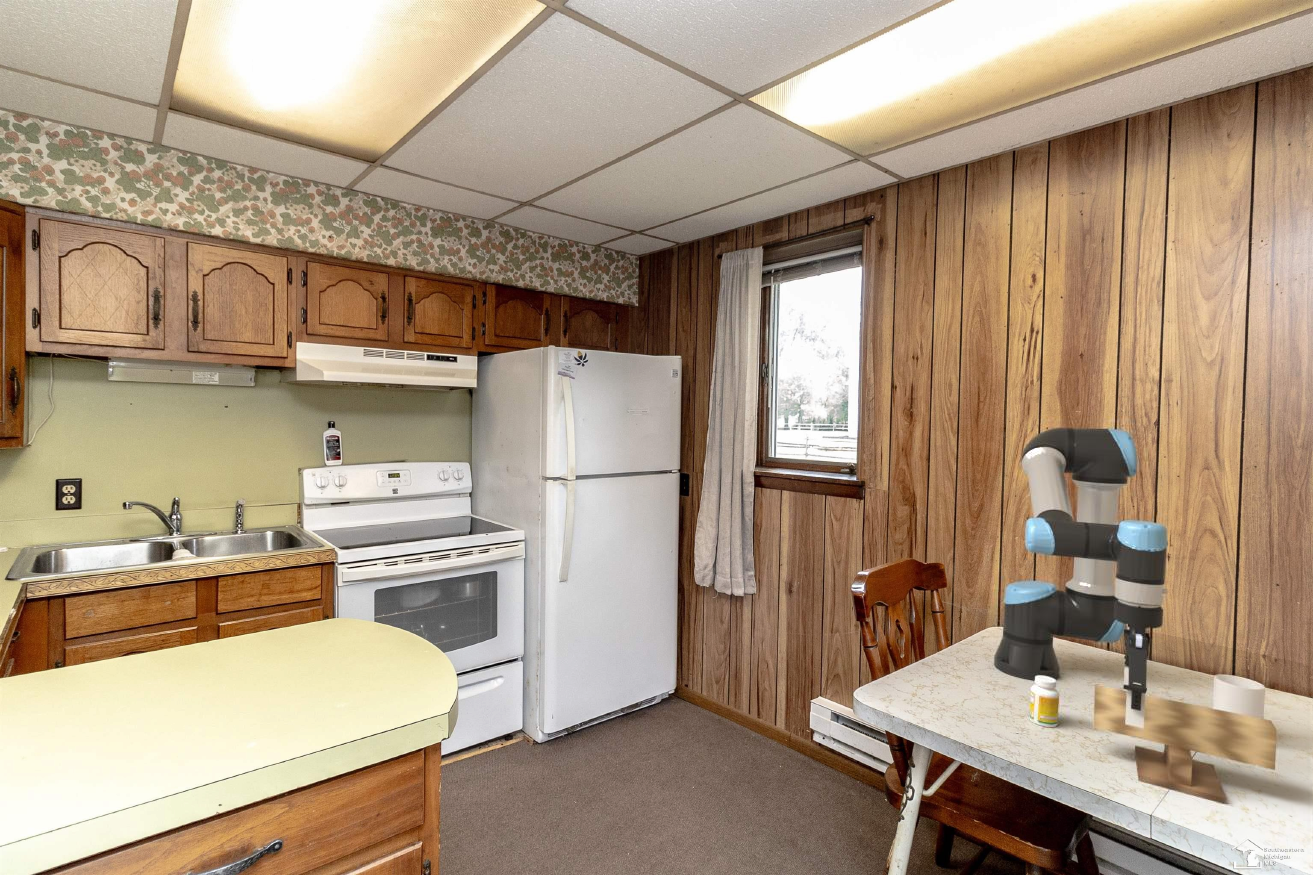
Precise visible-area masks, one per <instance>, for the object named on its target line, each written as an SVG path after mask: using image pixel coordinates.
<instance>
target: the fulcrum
mask: <svg viewBox="0 0 1313 875" xmlns="http://www.w3.org/2000/svg"><path fill="white" fill-rule="evenodd" d="M1163 745H1164V747H1163V751H1158V750H1154V749H1151V748H1146V747H1142V746H1139V745H1134V754H1135V763H1136V765H1135V766H1136V772H1137V781H1139V782H1143V783H1146V784H1150V785H1153V786H1157V787H1161V788H1164V789H1169V790H1172V791H1175V792H1179V793H1183V794H1186V795H1191V796H1194V797H1198V798H1202V799H1204V800H1209V801H1213V802H1217V803H1219V804H1224V805H1225V804H1226V797H1225V794H1224V791H1223V789H1222V786H1221V782H1220V780H1219V776H1218V774H1217V771H1216V769H1215V766H1214V764H1211V763H1207V762H1203V761H1200V760H1196V759H1193V756H1192V753H1191V750H1187V749H1182V748H1178V747H1174V746H1170V745H1165V744H1163Z"/></svg>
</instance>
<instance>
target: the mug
mask: <svg viewBox="0 0 1313 875" xmlns="http://www.w3.org/2000/svg"><path fill="white" fill-rule="evenodd" d="M1213 678H1214V679H1213V693H1212V694H1213V695H1212V707H1211V708H1212V709H1217V710H1222V711H1227V712H1232V713H1237V714H1241V715H1246V716H1251V717H1256V718H1261V719H1264V716H1265V715H1264V714H1265V700H1266V699H1265V698H1266V697H1265V695H1266V686H1265V685H1264V684H1262V683H1260V682H1258V681H1255V680H1253V679H1249V678H1245V677H1242V676H1237V675H1231V674H1215V675H1214V677H1213Z"/></svg>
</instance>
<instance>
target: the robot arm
mask: <svg viewBox="0 0 1313 875" xmlns="http://www.w3.org/2000/svg"><path fill="white" fill-rule="evenodd" d="M1020 463H1021V467H1022V468H1021V469H1022V470H1023V472H1024V474H1026V475H1027V478H1028V479H1027V480H1028V485H1029V486H1028V487H1029V488H1028V489H1029V493H1030V500H1031V502H1030V503H1031V508H1032V510H1031V511H1032V516H1033V517H1031V518H1028V519H1027V520H1026V522H1025V527H1024V528H1025V530H1024V531H1025V532H1024V540H1025V542H1024V543H1025V544H1024V545H1025V548H1026V550H1027V551H1028V552H1030V553H1033V554H1041V555H1045V556H1057V557H1067V558H1073V573H1072V578H1071V579H1070V580H1069V581H1066V583H1065V590H1060V589H1057V586H1056V585H1055V584H1054V583H1051V582H1048V581H1041V580H1024V581H1023V580H1020V581H1015V582H1011V583H1009V584H1008V585H1007V586H1006V587H1005V591H1004V593H1005V594H1004V599H1003V604H1004V608H1003V609H1004V610H1003V611H1004V612H1003V624H1002V638H1001V639H1000V642H999V645H998V646H997V648H996V652H995V654H994V657H993V665H994V667H995V668H996V669H997V670H999V671H1001V672H1002V673H1005V674H1009V675H1011V676H1014V677H1016V678H1017V677H1018V678H1021V679H1027V680H1031V681H1032V680H1033V681H1035V676H1038V675H1041V676H1048V677H1051V678H1053V679H1055V680H1056V681H1057V680H1058V679H1059V678H1060V671H1061V670H1060V665H1059V663H1058V662H1059V661H1058V658H1057V655H1056V652H1055V648H1054V636H1056V637H1057V636H1058V637H1064V638H1072V639H1077V640H1078V639H1079V640H1085V641H1092V642H1095V643H1100V642H1101V643H1111V644H1112V643H1117V642H1118V641H1119V640H1120V639H1121V638H1122V636H1123V639H1124V640H1123V641H1124V646H1125V653H1124V654H1125V655H1124V665H1125V666H1124V670H1123V671H1124V673H1123V674H1124V675H1123V689H1122V690H1124V691H1127V699H1126V718H1125V724H1127V725H1131V726H1135V727H1139V728H1144V713H1145V695H1147V694H1146V693H1147V691H1148V688H1147V665H1148V664H1147V663H1148V659H1149V654H1150V652H1149V648H1150V645H1151V636H1150V633H1149V632H1146V629H1158V628H1159V629H1160V628H1161V627H1162V626H1163V621H1164V619H1163V618H1164V609H1163V607H1162V605H1163V604H1164V598H1165V596H1164V594H1165V595H1167V594H1169V590H1168V589H1167V588H1164V587H1165V579H1166V568H1167V567H1166V566H1167V565H1166V564H1167V562H1166V561H1167V551H1168V550H1167V549H1168V545H1169V541H1168V530H1167V527H1166V526H1165V525H1164V524H1162V523H1159V522H1157V523H1156V522H1154V521H1153V522H1152V521H1144V520H1133V519H1132V520H1130V519H1127V520H1122V521H1121V522H1119V523H1118V513H1119V500H1120V499H1119V498H1120V491H1121V490H1122V489H1123V488H1125V486H1127V485H1128V478H1133V477H1135V476H1136V475H1137V472H1138V471H1137V470H1138V453H1137V449H1136V444H1135V441H1134V439H1133V436H1132V435H1131V433H1129V431H1127V430H1124V429H1114V428H1085V427H1084V428H1081V427H1080V428H1079V427H1054V428H1050V429H1046V430H1044V431H1042V432H1040V433H1038V434H1036V435H1035V436H1034V437H1032V439H1031V440H1030V441H1029V442H1028V443H1027V444H1026V445H1025V447H1024V448H1023V450H1022V454H1021V462H1020ZM1065 474H1071V475H1072V476H1071V481H1072V482H1073V483H1074V485H1076V486H1077V487H1078V490H1077V491H1078V492H1077V494H1078V495H1077V508H1076V520H1075V518H1074V514H1073V510H1072V505H1071V501H1070V497H1069V493H1068V487H1067V483H1066V479H1065ZM1115 562H1116V573H1115ZM1114 575H1115V576H1114ZM1114 577H1115V578H1114ZM1114 579H1115V582H1114ZM1126 626H1127V629H1126Z"/></svg>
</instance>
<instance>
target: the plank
mask: <svg viewBox="0 0 1313 875" xmlns="http://www.w3.org/2000/svg"><path fill="white" fill-rule="evenodd" d="M1126 699H1127V691H1124V690H1123V689H1117V688H1112V687H1109V686H1103V685H1098V684H1095V685H1094V700H1093V702H1094V703H1093V704H1094V705H1093V728H1094V729H1097V730H1102V731H1106V732H1111V733H1115V734H1119V735H1123V736H1128V737H1133V738H1136V739H1141V740H1144V741H1148V742H1154V743H1156V744H1161V745H1164V744H1165V745H1170V746H1174V747H1178V748H1182V749H1187V750H1190V752H1191V751H1192V752H1196V753H1200V754H1204V755H1209V756H1213V757H1217V758H1221V759H1226V760H1230V761H1235V762H1239V763H1243V764H1247V765H1252V766H1256V767H1258V768H1259V767H1260V768H1263V769H1269V770H1272V771H1275V770H1276V758H1277V737H1278V729H1277V728H1276V726H1275V725H1274V723H1273V721H1272V720H1270V719H1265V718H1263V719H1261V718H1256V717H1251V716H1246V715H1241V714H1237V713H1232V712H1227V711H1222V710H1217V709H1212V708H1213V707H1207V706H1202V705H1196V704H1192V703H1186V702H1184V701H1183V702H1182V701H1176V700H1172V699H1168V698H1161V697H1158V696H1152V695H1148V694H1145V713H1144V728H1139V727H1135V726H1131V725H1127V724H1125V718H1126Z"/></svg>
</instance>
